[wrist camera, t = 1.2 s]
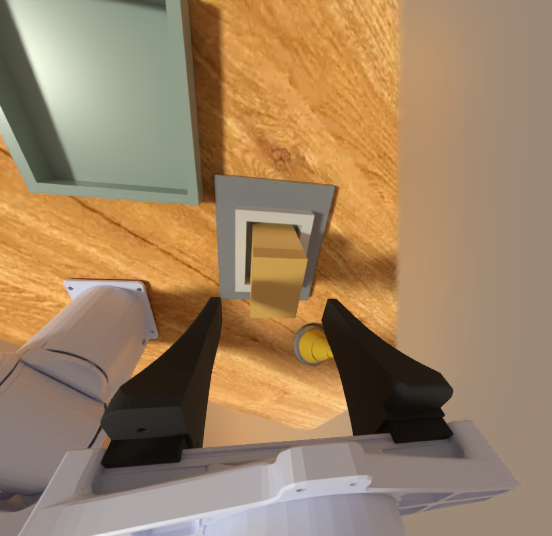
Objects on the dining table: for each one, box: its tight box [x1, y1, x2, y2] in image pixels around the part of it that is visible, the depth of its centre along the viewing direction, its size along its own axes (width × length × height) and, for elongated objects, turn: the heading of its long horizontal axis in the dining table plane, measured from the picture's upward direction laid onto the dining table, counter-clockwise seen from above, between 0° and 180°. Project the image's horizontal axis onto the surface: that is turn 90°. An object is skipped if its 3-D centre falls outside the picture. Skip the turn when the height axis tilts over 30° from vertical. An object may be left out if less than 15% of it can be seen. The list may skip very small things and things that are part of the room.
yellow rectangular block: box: [250, 222, 308, 318], centre depth 20 cm, size 6×4×7 cm, turn 174°
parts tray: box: [0, 0, 204, 205], centre depth 15 cm, size 13×13×2 cm
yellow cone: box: [293, 325, 333, 366], centre depth 28 cm, size 5×5×10 cm
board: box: [214, 174, 335, 300], centre depth 22 cm, size 14×11×2 cm
